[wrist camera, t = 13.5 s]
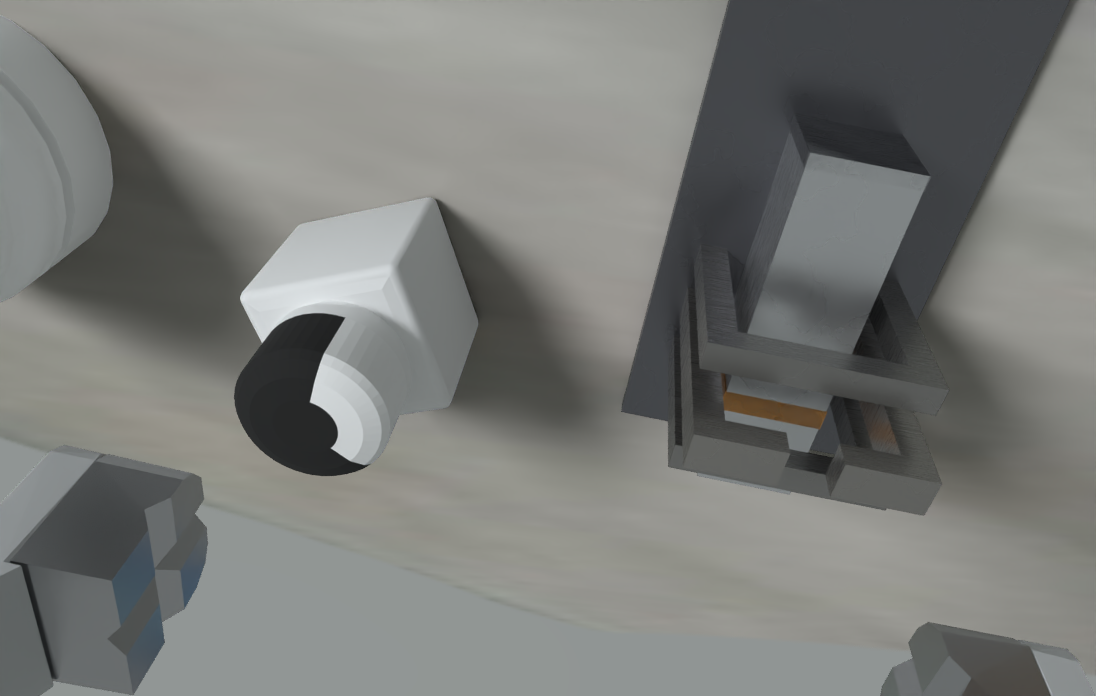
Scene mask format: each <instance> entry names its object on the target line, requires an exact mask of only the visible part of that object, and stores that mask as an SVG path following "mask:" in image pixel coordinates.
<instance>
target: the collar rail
mask: <svg viewBox="0 0 1096 696" xmlns="http://www.w3.org/2000/svg"><path fill="white" fill-rule="evenodd" d="M1069 1H1070V0H729V1H728V5H727V9H726V12H725V16H724V20H723V24H722V28H721V31H720V35H719V39H718V43H717V47H716V50H715V54H714V58H713V62H712V65H711V69H710V73H709V77H708V81H707V84H706V88H705V92H704V96H703V100H702V103H701V107H700V111H699V115H698V119H697V122H696V126H695V130H694V134H693V137H692V141H691V145H690V149H689V153H688V156H687V160H686V164H685V168H684V172H683V175H682V179H681V183H680V187H679V191H678V194H677V198H676V202H675V206H674V209H673V213H672V217H671V221H670V225H669V228H668V232H667V236H666V240H665V244H664V247H663V251H662V255H661V259H660V262H659V266H658V270H657V274H656V278H655V281H654V285H653V289H652V293H651V297H650V300H649V304H648V308H647V312H646V316H645V319H644V323H643V327H642V331H641V334H640V338H639V342H638V346H637V350H636V353H635V357H634V361H633V365H632V369H631V372H630V376H629V380H628V384H627V388H626V391H625V395H624V399H623V403H622V411H621V412H625V413H630V414H635V415H640V416H645V417H650V418H655V419H660V420H665V421H668V467H671V468H676V469H681V470H686V471H691V472H696V473H701V474H706V475H711V476H716V477H721V478H726V479H731V480H736V481H741V482H746V483H751V484H756V485H761V486H766V487H771V488H776V489H781V490H786V491H791V492H796V493H801V494H806V495H811V496H816V497H821V498H826V499H831V500H836V501H841V502H846V503H851V504H856V505H861V506H866V507H871V508H876V509H881V510H886V508H888V509H893V510H898V511H903V512H908V513H913V514H918V515H923V516H924V515H925V513H926V511H927V510H928V508H929V506H930V504H931V503H932V501H933V499H934V497H935V496H936V494H937V492H938V490H939V489H940V487H941V485H942V482H941V480H940V477H939V475H938V472H937V470H936V467H935V465H934V462H933V459H932V457H931V454H930V452H929V449H928V447H927V444H926V442H925V439H924V437H923V434H922V432H921V429H920V426H919V424H918V421H917V419H916V416H915V414H914V411H915V412H920V413H925V414H930V415H935V416H936V414H937V412H938V411H939V409H940V407H941V405H942V403H943V401H944V399H945V397H946V395H947V394H948V392H949V389H948V387H947V385H946V382H945V380H944V378H943V376H942V374H941V372H940V370H939V367H938V365H937V363H936V361H935V359H934V357H933V355H932V352H931V350H930V348H929V346H928V344H927V342H926V340H925V337H924V335H923V333H922V331H921V329H920V327H919V325H918V322H917V320H918V318H919V315H920V313H921V311H922V309H923V307H924V305H925V303H926V301H927V299H928V297H929V294H930V292H931V290H932V288H933V286H934V284H935V282H936V280H937V278H938V276H939V274H940V271H941V269H942V267H943V265H944V263H945V261H946V259H947V257H948V255H949V253H950V250H951V248H952V246H953V244H954V242H955V240H956V238H957V236H958V234H959V232H960V230H961V227H962V225H963V223H964V221H965V219H966V217H967V215H968V213H969V211H970V209H971V206H972V204H973V202H974V200H975V198H976V196H977V194H978V192H979V190H980V188H981V185H982V183H983V181H984V179H985V177H986V175H987V173H988V171H989V169H990V167H991V165H992V162H993V160H994V158H995V156H996V154H997V152H998V150H999V148H1000V146H1001V144H1002V141H1003V139H1004V137H1005V135H1006V133H1007V131H1008V129H1009V127H1010V125H1011V123H1012V120H1013V118H1014V116H1015V114H1016V112H1017V110H1018V108H1019V106H1020V104H1021V102H1022V100H1023V97H1024V95H1025V93H1026V91H1027V89H1028V87H1029V85H1030V83H1031V81H1032V79H1033V76H1034V74H1035V72H1036V70H1037V68H1038V66H1039V64H1040V62H1041V60H1042V58H1043V56H1044V53H1045V51H1046V49H1047V47H1048V45H1049V43H1050V41H1051V39H1052V37H1053V35H1054V32H1055V30H1056V28H1057V26H1058V24H1059V22H1060V20H1061V18H1062V16H1063V14H1064V11H1065V9H1066V7H1067V5H1068V3H1069ZM794 114H798V115H803V116H808V117H813V118H818V119H823V120H828V121H833V122H838V123H843V124H848V125H853V126H858V127H863V128H868V129H873V130H878V131H883V132H888V133H894V134H899V135H904V137H905V138H906V140H907V141H908V143H909V144H910V146H911V147H912V149H913V150H914V152H915V153H916V155H917V156H918V158H919V159H920V161H921V162H922V164H923V165H924V166H925V168H926V169H927V171H928V172H929V174H930V175H931V179H930V181H929V183H928V185H927V188H926V190H925V192H923V193H922V196H921V198H920V200H919V203H918V205H917V207H916V209H915V212H914V214H913V216H912V218H911V221H910V223H909V225H908V227H907V230H906V232H905V234H904V237H903V239H902V241H901V243H900V246H899V248H898V250H897V252H896V255H895V257H894V259H893V261H892V264H891V266H890V268H889V271H888V273H887V275H886V277H885V280H884V282H883V284H882V286H881V289H880V291H879V293H878V295H877V298H876V300H875V302H874V305H873V307H872V309H871V311H870V314H869V316H868V318H867V320H866V323H865V325H864V327H863V329H862V332H861V334H860V336H859V339H858V341H857V343H856V345H855V348H854V350H853V352H852V354H849V353H844V352H839V351H834V350H829V349H823V348H818V347H813V346H808V345H803V344H798V343H793V342H788V341H783V340H778V339H773V338H768V337H763V336H758V335H753V334H748V333H743V332H738V329H737V321H736V314H735V306H734V298H735V295H736V292H737V289H738V286H739V282H740V279H741V276H742V273H743V270H744V267H745V264H746V261H747V258H748V255H749V252H750V249H751V246H752V243H753V240H754V237H755V234H756V231H757V228H758V225H759V222H760V219H761V216H762V213H763V210H764V207H765V204H766V201H767V198H768V195H769V192H770V189H771V186H772V183H773V180H774V177H775V174H776V171H777V168H778V165H779V162H780V159H781V156H782V153H783V150H784V147H785V144H786V141H787V138H788V135H789V132H790V125H791V122H792V119H793V116H794ZM721 373H724V374H729V375H734V376H739V377H744V378H749V379H754V380H759V381H764V382H769V383H774V384H780V385H785V386H790V387H795V388H800V389H805V390H810V391H815V392H820V393H825V394H830V395H833V397H832V400H831V402H830V404H829V407H828V409H827V414H826V416H825V418H824V421H823V423H822V425H821V427H820V429H818V431H817V434H816V436H815V438H814V441H813V443H812V445H811V447H810V450H815V451H820V452H825V453H830V454H835V455H834V457H833V458H832V457H827V456H822V455H817V454H812V453H807V452H802V451H797V450H792V449H789V444H788V438H787V433H786V432H781V431H776V430H771V429H766V428H761V427H756V426H751V425H746V424H741V423H736V422H731V421H726V420H725V414H724V403H723V392H722V381H721Z"/></svg>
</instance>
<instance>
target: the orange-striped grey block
mask: <svg viewBox="0 0 1096 696" xmlns="http://www.w3.org/2000/svg"><path fill="white" fill-rule="evenodd" d="M930 179H931V175H930V174H929V172H928V171H927V169H926V168H925V166H924V165H923V164H922V162H921V161H920V159H919V158H918V156H917V155H916V153H915V152H914V150H913V149H912V147H911V146H910V144H909V143H908V141H907V140H906V138H905V137H904V135H899V134H894V133H888V132H883V131H878V130H873V129H868V128H863V127H858V126H853V125H848V124H843V123H838V122H833V121H828V120H823V119H818V118H813V117H808V116H803V115H798V114H794V116H793V119H792V122H791V125H790V132H789V135H788V138H787V141H786V144H785V147H784V150H783V153H782V156H781V159H780V162H779V165H778V168H777V171H776V174H775V177H774V180H773V183H772V186H771V189H770V192H769V195H768V198H767V201H766V204H765V207H764V210H763V213H762V216H761V219H760V222H759V225H758V228H757V231H756V234H755V237H754V240H753V243H752V246H751V249H750V252H749V255H748V258H747V261H746V264H745V267H744V270H743V273H742V276H741V279H740V282H739V286H738V289H737V292H736V295H735V298H734V306H735V314H736V321H737V329H738V332H743V333H748V334H753V335H758V336H763V337H768V338H773V339H778V340H783V341H788V342H793V343H798V344H803V345H808V346H813V347H818V348H823V349H829V350H834V351H839V352H844V353H849V354H852V352H853V350H854V348H855V345H856V343H857V341H858V339H859V336H860V334H861V332H862V329H863V327H864V325H865V323H866V320H867V318H868V316H869V314H870V311H871V309H872V307H873V305H874V302H875V300H876V298H877V295H878V293H879V291H880V289H881V286H882V284H883V282H884V280H885V277H886V275H887V273H888V271H889V268H890V266H891V264H892V261H893V259H894V257H895V255H896V252H897V250H898V248H899V246H900V243H901V241H902V239H903V237H904V234H905V232H906V230H907V227H908V225H909V223H910V221H911V218H912V216H913V214H914V212H915V209H916V207H917V205H918V203H919V200H920V198H921V196H922V193H923V192H925V190H926V188H927V185H928V183H929V181H930ZM721 381H722V392H723V403H724V414H725V420H726V421H731V422H736V423H741V424H746V425H751V426H756V427H761V428H766V429H771V430H776V431H781V432H786V433H787V438H788V444H789V449H792V450H797V451H802V452H807V453H808V452H809V450H810V447H811V445H812V443H813V441H814V438H815V436H816V434H817V431H818V429H820V427H821V425H822V423H823V421H824V418H825V416H826V414H827V409H828V407H829V404H830V402H831V400H832V397H833V395H830V394H825V393H820V392H815V391H810V390H805V389H800V388H795V387H790V386H785V385H780V384H774V383H769V382H764V381H759V380H754V379H749V378H744V377H739V376H734V375H729V374H724V373H721ZM697 476H700V477H705V478H710V479H715V480H720V481H725V482H730V483H735V484H740V485H745V486H750V487H755V488H760V489H765V490H770V491H775V492H779V493H784V494H789V495H790V493H791V491H786V490H781V489H776V488H771V487H766V486H761V485H756V484H751V483H746V482H741V481H736V480H731V479H726V478H721V477H716V476H711V475H706V474H701V473H697Z"/></svg>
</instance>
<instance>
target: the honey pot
mask: <svg viewBox="0 0 1096 696" xmlns="http://www.w3.org/2000/svg"><path fill="white" fill-rule="evenodd" d="M112 188H113V174H112V164H111V154H110V149H109V146H108V143H107V140H106V137H105V135H104V132H103V129H102V126H101V123H100V121H99V118H98V115H97V113H96V112H95V110H94V109H93V107H92V105H91V104H90V102H89V100H88V99H87V97H86V95H85V94H84V92H83V91H82V89H81V87H80V86H79V84H78V82H77V81H76V79H75V78H74V77H73V76H72V75H71V74H70V73H69V71H68V70H67V69H66V68H65V67H64V66H63V65H62V64H61V63H60V62H59V60H58V59H57V58H56V57H55V56H54V55H53V54H52V53H51V52H50V51H49V49H48V48H47V47H46V46H44V45H43V44H42V43H41V42H39V41H38V40H37V39H35V38H34V37H33V36H31V35H30V34H29V33H27V32H26V31H25V30H23V29H22V28H21V27H20V26H18V25H17V24H16V23H14V22H13V21H12V20H10V19H8V18H6V17H4V16H2V15H0V302H3V301H5V300H7V299H10V298H12V297H14V296H15V295H16V294H18V293H19V292H20V291H22V290H23V289H24V288H26V287H27V286H28V285H30V284H31V283H32V282H34V281H35V280H36V279H37V278H39V277H40V276H41V275H43V274H44V273H45V272H47V271H48V270H49V269H50V268H51V267H53V266H54V265H56V264H57V263H58V262H59V261H61V260H62V259H63V258H64V257H66V256H67V255H68V254H70V253H71V252H72V251H73V250H75V249H76V248H77V247H79V246H80V245H81V244H82V243H84V242H85V241H86V240H87V239H89V238H90V237H91V236H93V235H94V234H95V232H96V230H97V229H98V227H99V225H100V224H101V222H102V221H103V219H104V217H105V216H106V214H107V212H108V208H109V203H110V198H111V193H112Z"/></svg>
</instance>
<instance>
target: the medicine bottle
mask: <svg viewBox="0 0 1096 696" xmlns="http://www.w3.org/2000/svg"><path fill="white" fill-rule="evenodd" d="M240 300H241V303H242V305H243V307H244V309H245V311H246V313H247V315H248V317H249V319H250V321H251V323H252V324H253V326H254V328H255V330H256V332H257V334H258V336H259V338H260V340H261V342H262V345H261V346H260V347H259V349H258V350H257V351H256V353H255V354H254V356H253V357H252V358H251V360H250V361H249V362H248V364H247V365H246V367H245V368H244V369H243V371H242V372H241V374H240V376H239V378H238V380H237V383H236V387H235V394H234V399H235V407H236V411H237V415H238V417H239V419H240V422H241V424H242V426H243V428H244V429H245V431H246V433H247V434H248V436H249V437H250V439H251V440H252V441H253V442H254V444H255V445H256V446H257V447H258V448H259V449H260V450H262V451H263V452H264V453H265V454H266V455H268V456H269V457H270V458H272V459H273V460H275V461H276V462H278V463H280V464H282V465H284V466H286V467H288V468H291V469H293V470H296V471H299V472H302V473H306V474H311V475H318V476H336V475H343V474H348V473H352V472H356V471H358V470H361V469H363V468H365V467H367V466H368V465H370V464H372V463H373V462H374V461H375V460H376V459H377V458H378V457H379V456H380V455H381V454H382V452H383V451H384V449H385V447H386V445H387V443H388V441H389V438H390V436H391V434H392V431H393V429H394V427H395V424H396V422H397V420H398V417H399V415H402V414H409V413H416V412H423V411H430V410H437V409H444V408H447V407H448V406H449V405H450V404H451V402H452V399H453V396H454V393H455V391H456V388H457V385H458V382H459V379H460V376H461V373H462V371H463V368H464V365H465V362H466V359H467V356H468V353H469V351H470V348H471V345H472V342H473V339H474V336H475V333H476V331H477V328H478V318H477V316H476V313H475V310H474V307H473V304H472V301H471V298H470V296H469V293H468V290H467V287H466V284H465V281H464V278H463V276H462V273H461V270H460V267H459V264H458V261H457V258H456V256H455V253H454V250H453V247H452V244H451V241H450V238H449V236H448V233H447V230H446V227H445V224H444V221H443V219H442V216H441V213H440V210H439V207H438V204H437V202H436V200H435V199H433V198H432V197H427V198H422V199H418V200H413V201H408V202H403V203H398V204H394V205H389V206H384V207H379V208H374V209H370V210H365V211H360V212H355V213H350V214H345V215H341V216H336V217H331V218H326V219H321V220H317V221H312V222H307V223H303V224H300V225H298V226H297V228H296V229H295V230H294V231H293V232H292V233H291V235H290V236H289V237H288V238H287V239H286V241H285V242H284V243H283V244H282V245H281V247H280V248H279V249H278V250H277V251H276V253H275V254H274V255H273V256H272V257H271V258H270V260H269V261H268V262H267V263H266V264H265V266H264V267H263V268H262V269H261V270H260V272H259V273H258V274H257V275H256V276H255V278H254V279H253V280H252V281H251V282H250V283H249V285H248V286H247V287H246V288H245V289H244V291H243V292H242V294H241V297H240Z"/></svg>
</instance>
